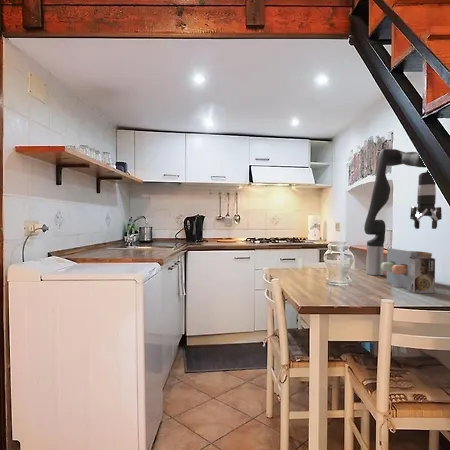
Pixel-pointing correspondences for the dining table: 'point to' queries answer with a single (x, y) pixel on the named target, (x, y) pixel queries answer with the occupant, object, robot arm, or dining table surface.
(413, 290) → the coffee box
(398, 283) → the button panel
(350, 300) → the dining table surface
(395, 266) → the terracotta button
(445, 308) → the dining table surface
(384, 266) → the sage-green button
